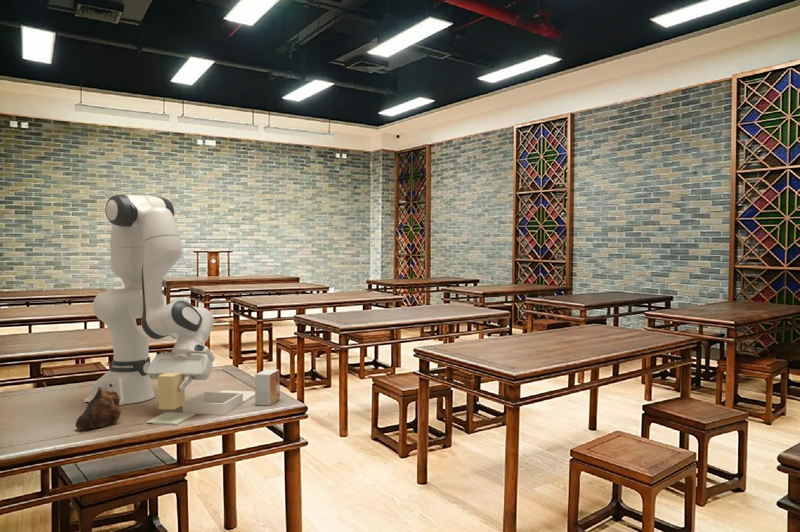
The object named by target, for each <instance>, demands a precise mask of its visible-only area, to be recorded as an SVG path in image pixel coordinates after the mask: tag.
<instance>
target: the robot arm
mask: <svg viewBox="0 0 800 532" xmlns="http://www.w3.org/2000/svg"><path fill="white" fill-rule="evenodd" d="M104 212H105V216H106V218H107V220H108V222H110V224H111V225H112V226H111V231H110V244H109V245H110V246H109V247H110V250H109V251H110V269H111V271H112V273H113V274H114V275H115V276H117V277H119V278H120V279H121V281H122V282H123V286H124V288H116V289H115V288H112V289H108V290H106V291H105V290H104V291H103V292H100V293H98V294H96V296H95V297H94V300H93V302H92V311H93V313H94V316H96V317H97V319H98V320H100V321H101V322H103V323H104V325H106V327H107V328H108V330H109V332H110V335H111V339H112V346H113V347H112V348H113V352H112V353H113V359H112V360H111V361H108V362H106V366H107V367H109V370H108V371H107V372H106V373H104V374H103V375H101V377H100V378H98V379H97V380H96V381H94V383H93V386H92V388H91V394H90V395H88V396H86V397H85V398H84V400H83V403H86V402H90V401H91V400H92V399H93V398H94V397H95V395H96V393H97V391H98V390H99V389H102V390H105V391H109V392H112V391H114V392H116V393H117V394H118V396H119V398H120V402H119V406H123V405H130V404H136V403H142V402H146V401H148V400H152V399H153V398H155V396H156V395H155V392H154V390H153V384H152V380H158V376H159V375H162V374H165V373H181V375H184V381H183V382H182V383H181V384H178V387H177V390H178V391H184V392H185V388H187V387H188V385H190V384H191V383H192V381H206V380H207V379H209V378H210V376H211V373H212V370H213V368H214V367H213V366H214V363H213V362H214V361H215V355H214V354H213V352H212V350H211V349H210V348H209V347H208V346H206V345H205V344H206V342H207V341H208V340H209V337H210V336H211V334H212V333H211V332H212V330H213V327H214V321H215V320H214V319H215V318H214V314H213V313H212V312H211V311H210V309H207V308H205V307H203V306H193V305H192V304H190V303H189V302H188V301H184V300H177V301H174V302H171V303H168V304H165V296H164V294H163V286H162V284H163V280H164V278H165V276H166V275H167V273H168V272H169V271H170V270H171V269H172V268H173V267H174V266H175V265H176V264H177V262H179V261H180V258H181V256H182V249H183V248H182V241H181V237H180V232H179V229H178V225H177V222H176V220H175V209H174V205H173V203H172V202H171V201H170V199H167V198H165V197H161V196H153V195H148V194H127V195H126V194H124V193H123V194H116V195H112V196H110V197H109V198H108V200H107V202H106V204H105V211H104ZM137 319H141V327H142V330H140V328H139V326H138V324H137ZM173 334H176V335H177V337H178V338H177V339H176V342H175V344H174V346H173V348H172V350H171V351H161V352H159V353H158V354H155V356H154V358H152V360H151V357H150V353H149V352H150V351H149V349H150V347H149V343H150V342H149V337H150V338H151V339H154V340H161V339H164V338H166V337H169V336H170V335H173Z"/></svg>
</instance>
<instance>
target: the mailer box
mask: <svg viewBox="0 0 800 532" xmlns="http://www.w3.org/2000/svg"><path fill="white" fill-rule="evenodd" d="M253 396H254V397H255V390H254V391H253V390H252V391H251V390H226V389H225V390H223V389H222V390H221V391H204V390H203V391H202V392H200V393H199V394H196V395H194V396H192V397H190V398H188V399H185V404H184V405H182V413H195V415H196V414H197V415H214V416H215V415H217V416H218V415H219V416H225V415H227V414H228V413H229V412H232V411H233V410H234V409H236V408H238V407H240V406H241V405H243V404H244V403H246V402H247V401H249V400H251V399H252V398H254V397H253ZM251 397H252V398H251ZM250 398H251V399H250ZM245 401H246V402H245ZM242 403H243V404H242Z"/></svg>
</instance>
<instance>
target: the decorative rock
mask: <svg viewBox="0 0 800 532" xmlns="http://www.w3.org/2000/svg"><path fill="white" fill-rule="evenodd" d="M119 402H120V398H119V396H118V394H117V393H116V392H114V391H112V392H109V391H105V390H102V389H99V390H98V391H97V393H96V395H95V397H94V398H93V399H92V400H91V401H90V402H89V403H87V406H86V408H85V410H83V413H82V414H80V416H79V417H78V418H77V419H76V422H75V428H77V430H79V429H81V431H86V430H88V429H94V428H97V427H99V428H103V427H106V426H108V425H113V424H116V423H117V422H118V420H119V419H120V417H121V413H122V412H121V407H120V405H119Z"/></svg>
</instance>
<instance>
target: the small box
mask: <svg viewBox="0 0 800 532" xmlns="http://www.w3.org/2000/svg"><path fill="white" fill-rule="evenodd" d="M280 379H281V377H280V369H270V368H269V369H267V368H264V370H262V371H259V372H258V373H255V374H254V391H255V396H254V399H255V401H254V402H255V403H254V404H255V405H256V406H272V405H273V404H274V403H276V402H278V401H280V400H281V395H280V393H281V392H280V389H281V387H280ZM279 399H280V400H279ZM277 400H278V401H277Z"/></svg>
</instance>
